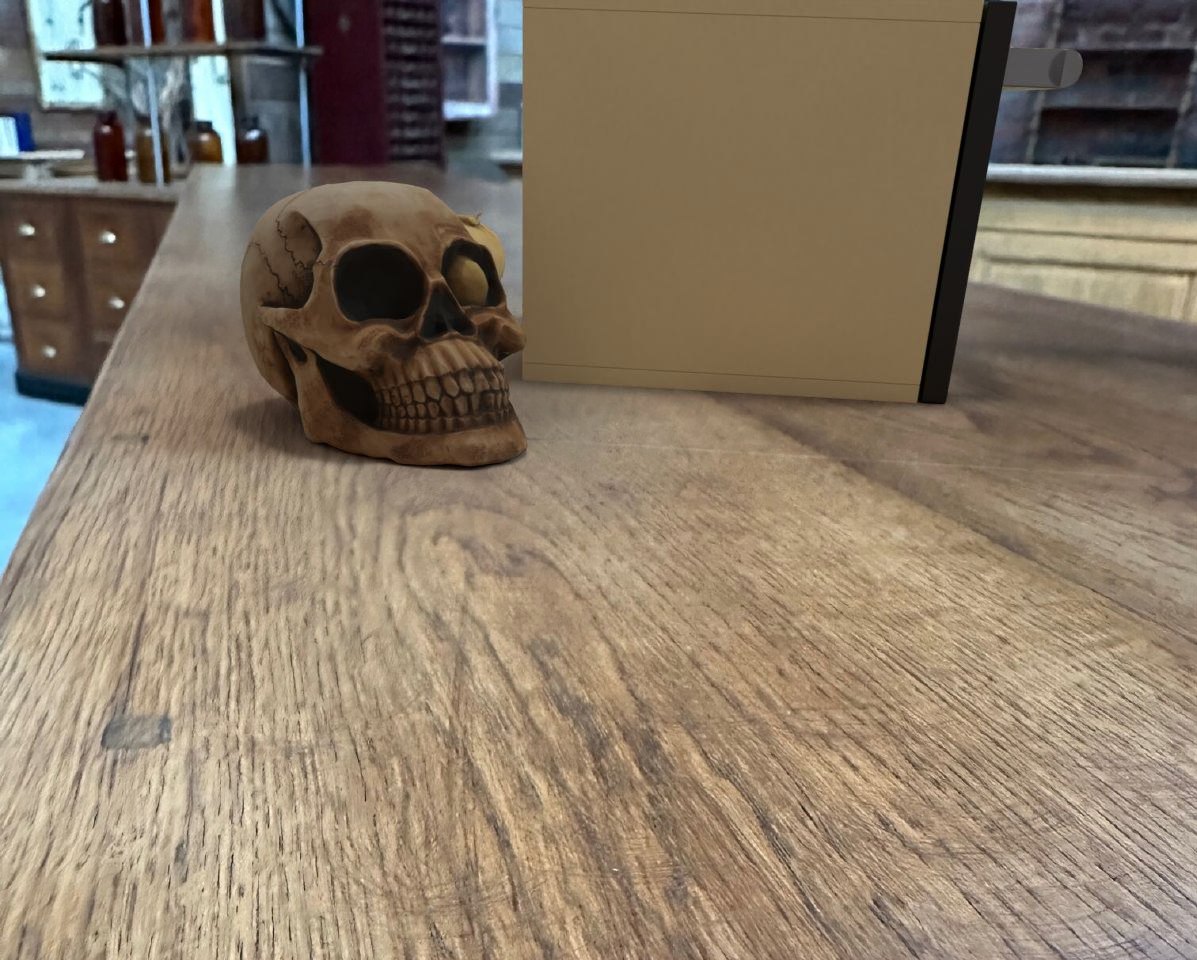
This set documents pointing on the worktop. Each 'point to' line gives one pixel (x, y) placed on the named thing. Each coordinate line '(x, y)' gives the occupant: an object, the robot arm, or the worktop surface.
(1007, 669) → the worktop surface
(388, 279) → the brown skull
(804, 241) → the oven
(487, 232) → the onion
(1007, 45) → the oven door
